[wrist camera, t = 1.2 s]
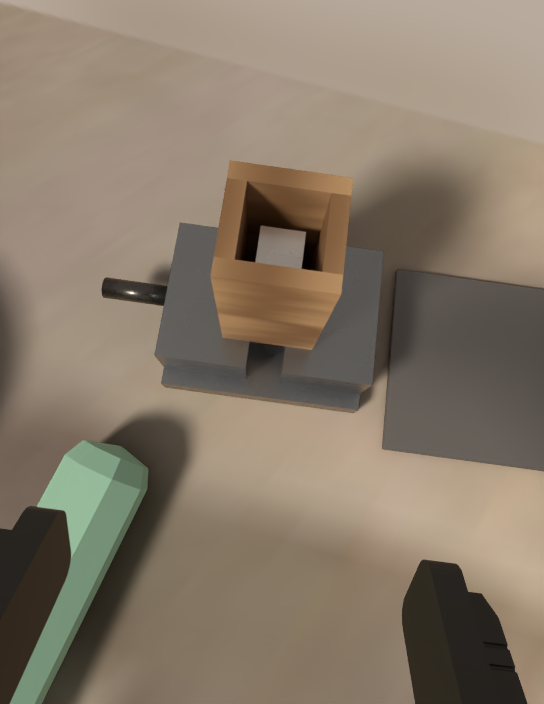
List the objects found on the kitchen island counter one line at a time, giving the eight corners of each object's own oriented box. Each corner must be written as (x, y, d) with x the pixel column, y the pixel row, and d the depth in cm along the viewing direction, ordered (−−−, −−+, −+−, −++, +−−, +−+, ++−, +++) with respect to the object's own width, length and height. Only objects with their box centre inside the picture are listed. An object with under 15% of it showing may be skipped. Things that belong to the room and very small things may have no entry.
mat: (569, 295, 34) (572, 293, 34) (570, 474, 32) (574, 474, 31) (395, 271, 34) (397, 269, 34) (381, 449, 31) (383, 448, 31)
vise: (366, 267, 34) (424, 168, 23) (353, 413, 32) (409, 381, 21) (132, 234, 34) (75, 118, 23) (101, 378, 32) (21, 327, 20)
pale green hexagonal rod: (73, 427, 25) (-260, 1034, 19) (178, 473, 27) (-94, 1040, 21) (70, 421, 30) (-189, 892, 24) (157, 460, 32) (-63, 906, 26)
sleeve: (321, 266, 29) (353, 178, 20) (312, 350, 28) (341, 294, 19) (235, 254, 29) (230, 160, 20) (222, 337, 28) (210, 276, 19)
